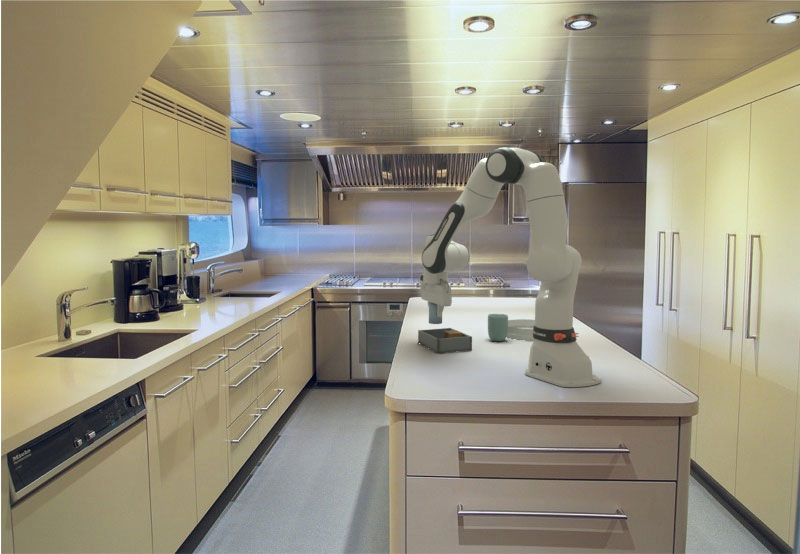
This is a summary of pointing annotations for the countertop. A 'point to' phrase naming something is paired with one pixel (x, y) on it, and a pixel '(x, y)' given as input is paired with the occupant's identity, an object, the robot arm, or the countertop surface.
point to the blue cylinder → (434, 314)
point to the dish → (521, 329)
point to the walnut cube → (452, 334)
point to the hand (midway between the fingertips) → (435, 315)
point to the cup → (497, 327)
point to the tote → (443, 341)
